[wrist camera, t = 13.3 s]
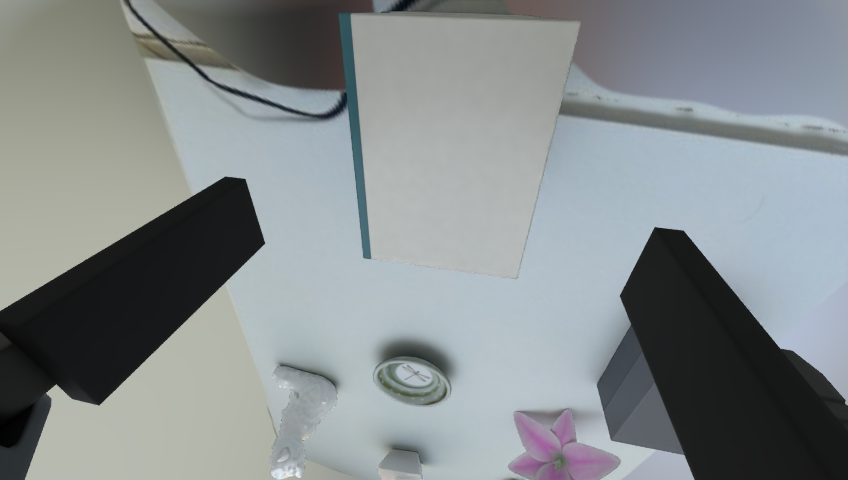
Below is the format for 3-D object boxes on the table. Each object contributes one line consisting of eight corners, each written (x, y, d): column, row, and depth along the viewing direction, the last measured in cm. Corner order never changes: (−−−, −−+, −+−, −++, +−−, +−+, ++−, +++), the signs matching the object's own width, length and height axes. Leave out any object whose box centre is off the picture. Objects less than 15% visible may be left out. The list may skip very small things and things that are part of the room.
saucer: (367, 370, 44) (361, 387, 42) (395, 332, 39) (390, 349, 37) (431, 399, 45) (428, 417, 43) (467, 366, 40) (466, 384, 38)
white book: (367, 12, 16) (338, 12, 13) (565, 18, 14) (582, 20, 11) (380, 227, 22) (363, 258, 20) (515, 243, 21) (517, 279, 18)
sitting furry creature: (274, 363, 47) (217, 453, 38) (326, 362, 45) (279, 459, 35) (304, 400, 52) (260, 489, 43) (352, 402, 50) (317, 497, 40)
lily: (623, 412, 41) (625, 470, 33) (604, 490, 43) (603, 562, 35) (524, 377, 46) (505, 419, 38) (513, 448, 49) (493, 502, 41)
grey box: (638, 310, 30) (665, 368, 26) (725, 323, 29) (770, 385, 25) (596, 384, 37) (610, 440, 32) (665, 397, 36) (690, 456, 31)
